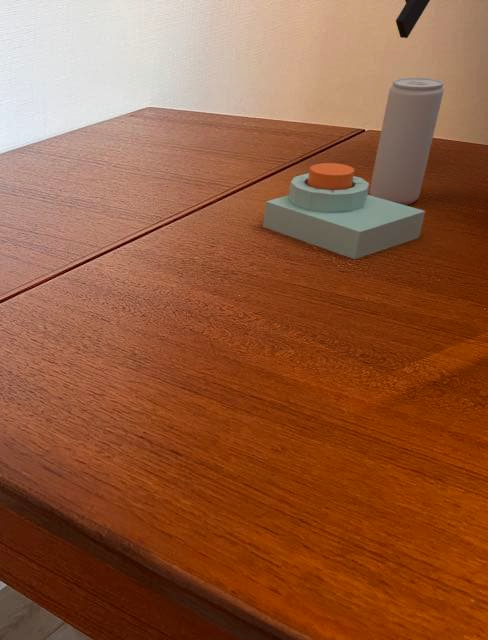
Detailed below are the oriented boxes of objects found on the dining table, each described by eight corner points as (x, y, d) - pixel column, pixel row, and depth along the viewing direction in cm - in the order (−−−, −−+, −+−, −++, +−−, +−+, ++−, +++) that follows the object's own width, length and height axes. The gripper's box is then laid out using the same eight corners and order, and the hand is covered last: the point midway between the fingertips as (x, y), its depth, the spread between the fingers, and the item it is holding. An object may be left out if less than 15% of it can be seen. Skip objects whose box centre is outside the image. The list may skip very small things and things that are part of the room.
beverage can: (402, 210, 88) (429, 89, 82) (358, 200, 92) (381, 82, 86) (427, 199, 91) (455, 80, 85) (383, 189, 94) (407, 75, 88)
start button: (360, 187, 83) (364, 169, 82) (331, 195, 81) (334, 177, 80) (326, 178, 86) (329, 160, 85) (298, 185, 84) (300, 168, 83)
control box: (419, 238, 82) (430, 192, 79) (354, 260, 78) (364, 212, 76) (324, 208, 90) (331, 166, 88) (262, 227, 87) (268, 183, 84)
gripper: (712, -122, 83) (594, 72, 83) (455, -116, 99) (358, 46, 99) (718, -188, 77) (593, 20, 77) (445, -171, 93) (342, 1, 93)
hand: (460, 35), depth 88 cm, fingers open, 12 cm apart
